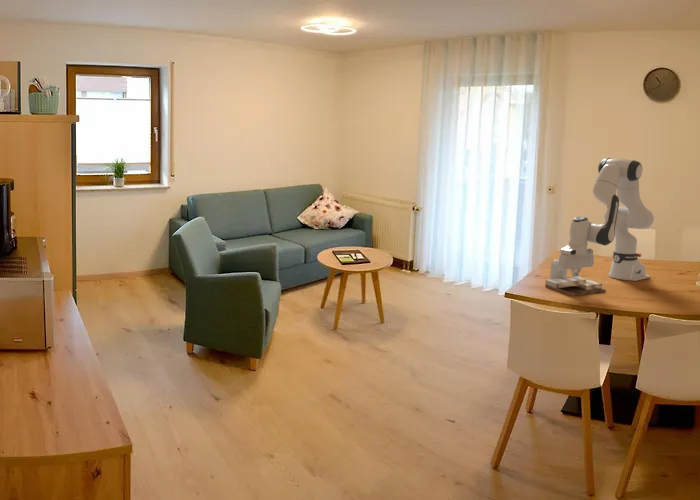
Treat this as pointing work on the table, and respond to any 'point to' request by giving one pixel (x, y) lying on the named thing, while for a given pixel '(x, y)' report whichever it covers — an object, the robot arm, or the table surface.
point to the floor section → (571, 290)
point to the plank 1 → (571, 283)
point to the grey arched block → (557, 270)
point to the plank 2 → (590, 285)
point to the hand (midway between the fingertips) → (575, 276)
